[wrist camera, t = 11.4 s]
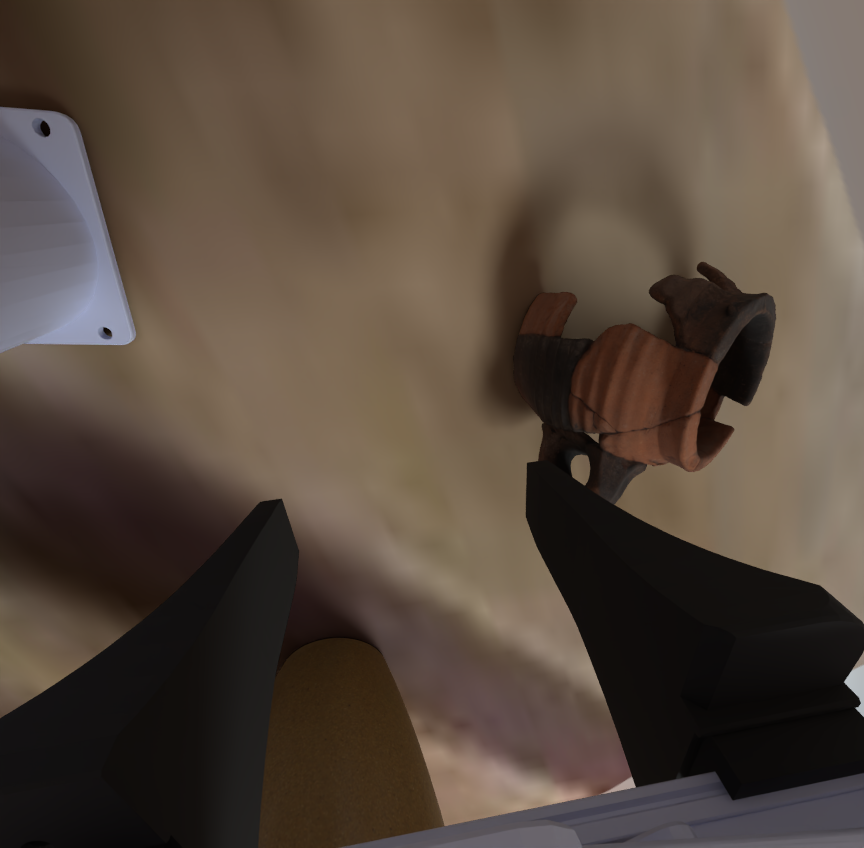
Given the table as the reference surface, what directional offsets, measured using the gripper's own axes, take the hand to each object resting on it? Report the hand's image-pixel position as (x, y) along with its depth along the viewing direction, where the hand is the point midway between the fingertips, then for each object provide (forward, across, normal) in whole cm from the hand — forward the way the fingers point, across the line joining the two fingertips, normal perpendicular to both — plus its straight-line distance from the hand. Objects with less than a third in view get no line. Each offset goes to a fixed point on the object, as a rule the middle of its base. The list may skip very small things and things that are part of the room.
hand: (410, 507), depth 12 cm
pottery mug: (+10, -10, +1) cm, 14 cm away
